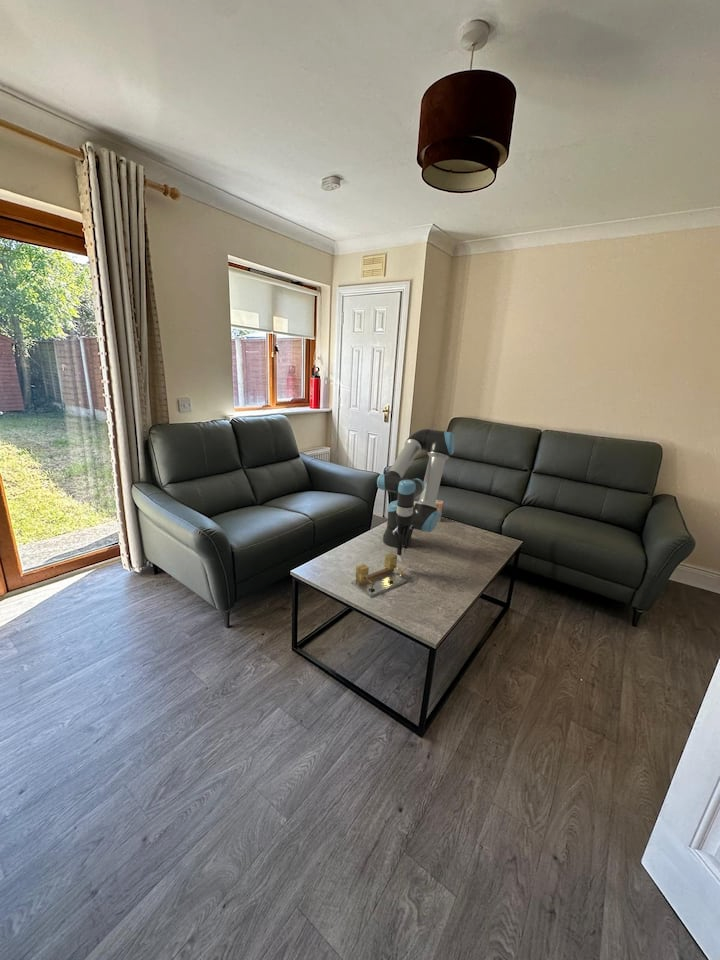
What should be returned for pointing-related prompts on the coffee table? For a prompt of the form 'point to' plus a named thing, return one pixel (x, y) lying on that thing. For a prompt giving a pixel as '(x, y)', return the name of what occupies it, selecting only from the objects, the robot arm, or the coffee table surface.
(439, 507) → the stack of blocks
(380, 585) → the hole plate
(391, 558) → the slider leg
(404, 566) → the coffee table surface
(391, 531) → the robot arm
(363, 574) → the beam
